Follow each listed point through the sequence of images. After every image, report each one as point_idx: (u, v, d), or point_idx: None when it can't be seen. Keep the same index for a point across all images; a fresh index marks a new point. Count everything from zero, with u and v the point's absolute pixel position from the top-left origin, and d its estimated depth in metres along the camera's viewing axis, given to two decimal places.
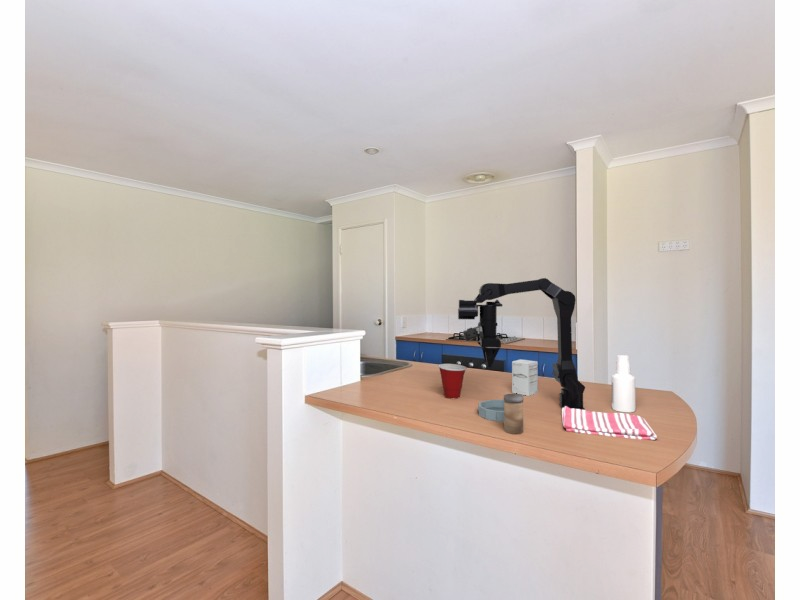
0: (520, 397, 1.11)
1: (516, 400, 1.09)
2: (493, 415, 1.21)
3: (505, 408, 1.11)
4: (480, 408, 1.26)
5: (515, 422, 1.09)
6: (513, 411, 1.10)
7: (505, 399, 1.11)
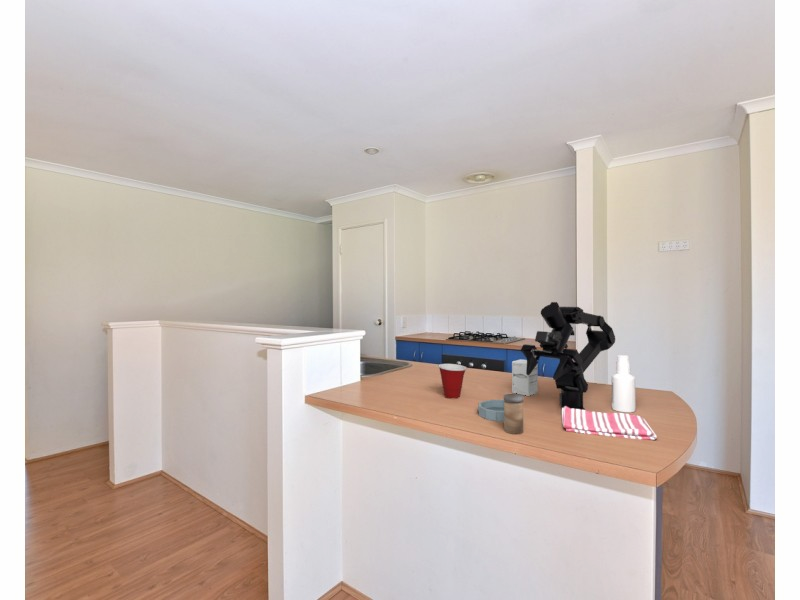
0: (520, 397, 1.11)
1: (516, 400, 1.09)
2: (493, 415, 1.21)
3: (505, 408, 1.11)
4: (480, 408, 1.26)
5: (515, 422, 1.09)
6: (513, 411, 1.10)
7: (505, 399, 1.11)
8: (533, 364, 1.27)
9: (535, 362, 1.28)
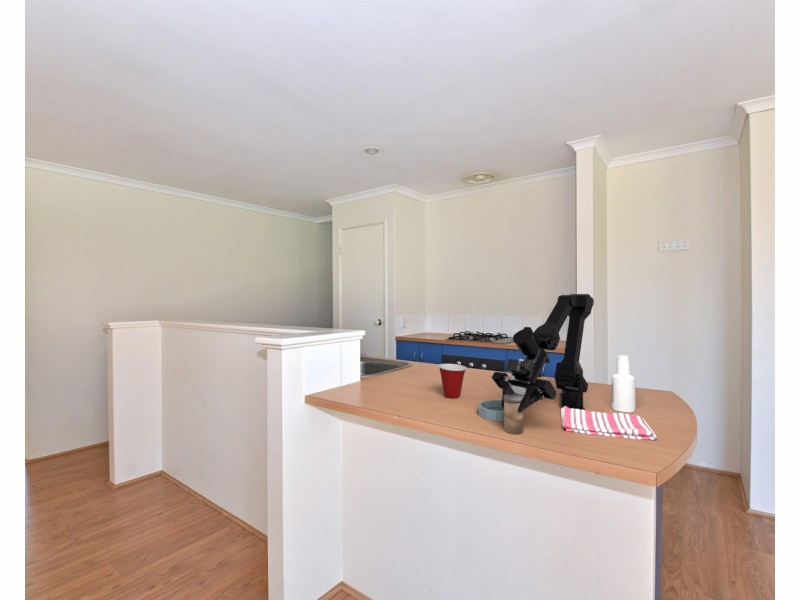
0: (520, 397, 1.11)
1: (516, 400, 1.09)
2: (493, 415, 1.21)
3: (505, 408, 1.11)
4: (480, 408, 1.26)
5: (515, 422, 1.09)
6: (513, 411, 1.10)
7: (505, 399, 1.11)
8: None
9: (511, 392, 1.17)
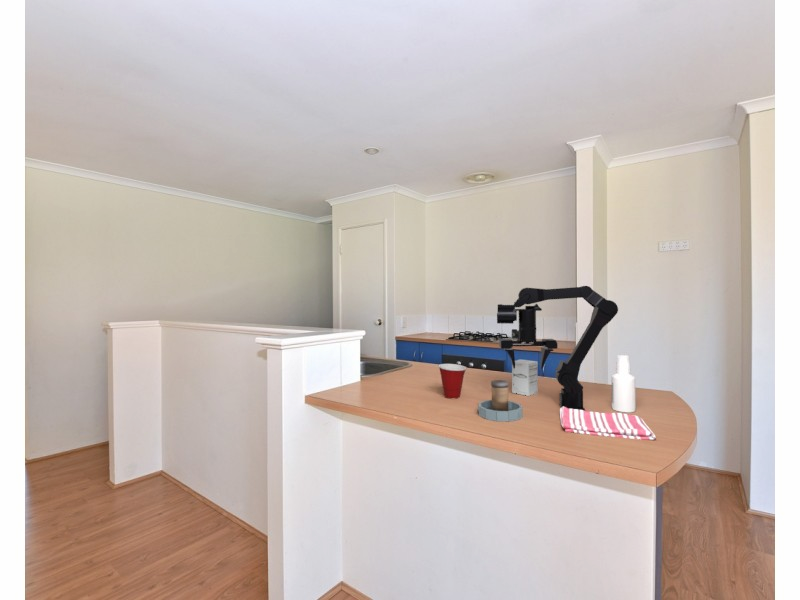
0: (503, 383, 1.25)
1: (498, 385, 1.25)
2: (493, 415, 1.21)
3: None
4: (480, 408, 1.26)
5: (497, 404, 1.25)
6: (495, 394, 1.25)
7: (491, 383, 1.27)
8: (542, 355, 1.35)
9: (543, 352, 1.34)
